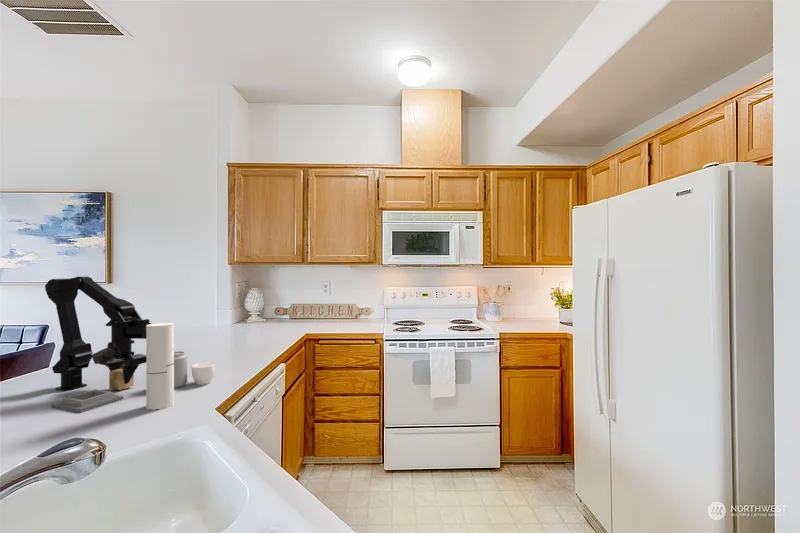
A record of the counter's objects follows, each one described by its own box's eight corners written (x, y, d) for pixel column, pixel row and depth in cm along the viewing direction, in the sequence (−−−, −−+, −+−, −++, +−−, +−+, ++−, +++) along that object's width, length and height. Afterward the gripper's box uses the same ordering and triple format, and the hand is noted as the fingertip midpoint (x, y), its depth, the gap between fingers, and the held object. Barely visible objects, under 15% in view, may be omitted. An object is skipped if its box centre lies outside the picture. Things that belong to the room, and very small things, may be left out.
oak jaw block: (109, 388, 130) (109, 371, 130) (124, 384, 135) (124, 367, 135) (118, 390, 128) (118, 372, 128) (133, 385, 133) (133, 369, 133)
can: (176, 389, 130) (176, 355, 130) (157, 388, 132) (157, 354, 132) (192, 383, 138) (192, 350, 138) (174, 382, 139) (174, 350, 139)
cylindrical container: (179, 403, 117) (179, 323, 117) (158, 411, 110) (157, 326, 110) (162, 400, 119) (162, 322, 119) (140, 408, 112) (140, 325, 113)
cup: (199, 387, 132) (199, 368, 132) (184, 383, 137) (184, 365, 138) (219, 382, 139) (219, 364, 139) (204, 378, 144) (204, 360, 144)
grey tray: (52, 406, 114) (52, 398, 114) (95, 394, 126) (95, 387, 126) (80, 412, 109) (80, 404, 110) (123, 399, 121) (123, 391, 121)
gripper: (78, 341, 127) (78, 386, 127) (114, 344, 121) (114, 392, 121) (113, 335, 138) (113, 377, 138) (148, 338, 131) (148, 382, 131)
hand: (121, 382), depth 132 cm, fingers closed on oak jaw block, 5 cm apart
